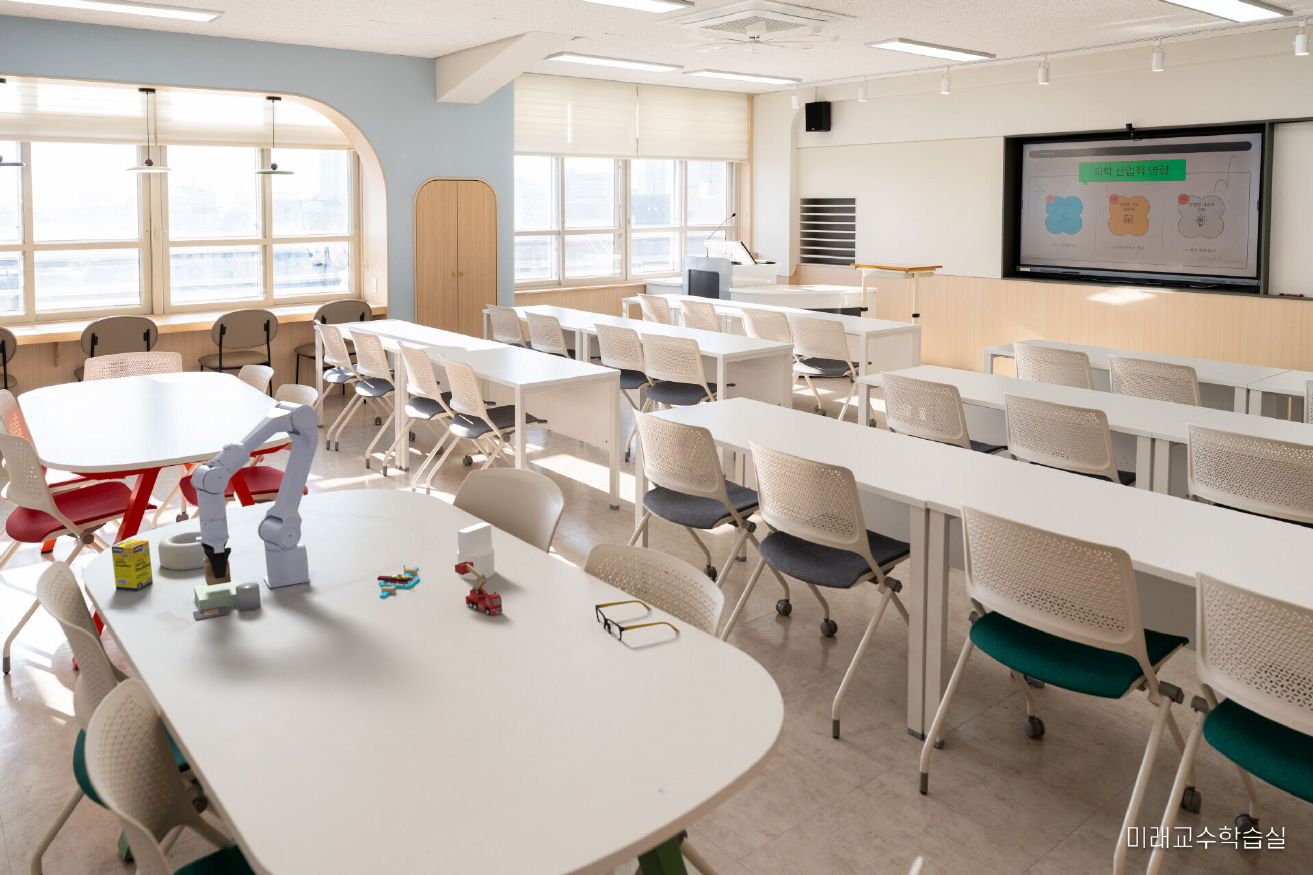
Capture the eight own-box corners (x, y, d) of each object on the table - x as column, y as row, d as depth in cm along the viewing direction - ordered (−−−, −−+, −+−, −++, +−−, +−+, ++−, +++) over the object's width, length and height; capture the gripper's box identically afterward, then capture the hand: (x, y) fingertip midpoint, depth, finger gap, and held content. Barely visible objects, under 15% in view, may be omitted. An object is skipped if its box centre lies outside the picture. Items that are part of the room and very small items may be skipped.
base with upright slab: (476, 565, 265) (474, 520, 262) (502, 572, 260) (500, 526, 257) (450, 575, 258) (448, 528, 255) (476, 582, 253) (474, 535, 250)
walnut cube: (228, 575, 244) (226, 555, 242) (231, 582, 239) (229, 561, 238) (205, 579, 241) (203, 558, 240) (207, 585, 237) (205, 565, 236)
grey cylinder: (260, 601, 240) (258, 581, 239) (261, 609, 236) (259, 588, 235) (237, 605, 238) (235, 584, 237) (237, 612, 234) (235, 591, 233)
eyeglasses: (591, 621, 230) (591, 604, 229) (650, 610, 236) (650, 594, 235) (617, 645, 217) (617, 627, 216) (679, 633, 223) (679, 615, 222)
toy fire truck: (492, 617, 231) (491, 576, 229) (455, 601, 240) (454, 562, 238) (504, 613, 233) (503, 572, 231) (467, 598, 242) (465, 558, 240)
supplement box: (137, 591, 247) (132, 547, 245) (115, 589, 248) (110, 546, 246) (154, 582, 253) (149, 540, 250) (132, 581, 254) (127, 538, 251)
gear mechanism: (360, 598, 244) (398, 601, 242) (359, 576, 242) (397, 579, 241) (396, 570, 263) (431, 572, 261) (395, 549, 262) (430, 551, 260)
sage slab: (240, 591, 248) (239, 579, 248) (247, 604, 240) (246, 592, 239) (195, 598, 243) (193, 586, 243) (200, 612, 235) (199, 600, 234)
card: (226, 607, 237) (226, 605, 237) (229, 614, 233) (229, 612, 233) (193, 612, 234) (193, 611, 234) (195, 620, 229) (195, 618, 229)
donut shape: (147, 570, 262) (144, 544, 261) (183, 551, 277) (180, 527, 275) (201, 573, 260) (199, 547, 258) (235, 554, 274) (232, 530, 273)
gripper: (190, 512, 241) (196, 567, 244) (197, 528, 229) (203, 586, 232) (223, 507, 245) (228, 562, 248) (231, 523, 232) (237, 581, 235)
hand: (218, 573), depth 240 cm, fingers closed on walnut cube, 5 cm apart
